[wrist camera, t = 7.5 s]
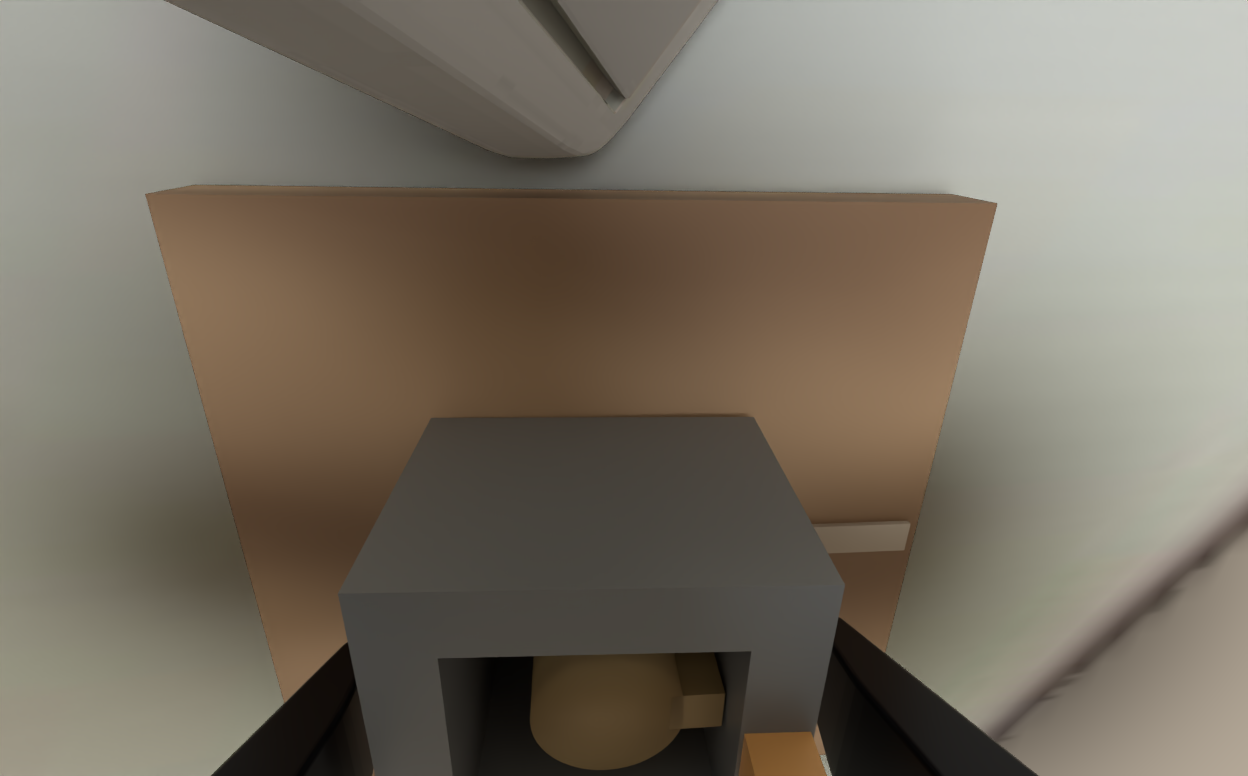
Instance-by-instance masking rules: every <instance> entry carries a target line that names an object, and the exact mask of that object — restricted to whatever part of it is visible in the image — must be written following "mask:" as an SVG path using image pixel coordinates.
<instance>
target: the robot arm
mask: <svg viewBox="0 0 1248 776" xmlns="http://www.w3.org/2000/svg"><path fill="white" fill-rule="evenodd" d="M817 725H818V728H819V732H820V736H821V739H822V743H823V746H824V750H825V753H826V757H827V761H828V764H829V767H830V771H831V774H832V776H1038V775H1037V774H1036V773H1034V772H1033V771H1032V770H1031V769H1029V768H1028V767H1027V766H1026V765H1024V764H1023V763H1022V762H1021V761H1019V760H1018V759H1017V758H1016V757H1014V756H1013V755H1012V754H1011V753H1009V752H1008V751H1007V750H1006V749H1004V748H1003V747H1002V746H1001V745H999V744H998V743H997V742H996V741H994V740H993V739H992V738H991V737H989V736H988V735H987V734H986V733H984V732H983V731H982V730H981V729H979V728H978V727H977V726H976V725H974V724H973V723H972V722H971V721H969V720H968V719H967V718H966V717H964V716H963V715H962V714H961V713H959V712H958V711H957V710H956V709H954V708H953V707H952V706H951V705H949V704H948V703H947V702H946V701H944V700H943V699H942V698H941V697H939V696H938V695H937V694H936V693H934V692H933V691H932V690H931V689H929V688H928V687H927V686H926V685H924V684H923V683H922V682H921V681H919V680H918V679H917V678H916V677H914V676H913V675H912V674H911V673H909V672H908V671H907V670H906V669H904V668H903V667H902V666H901V665H899V664H898V663H897V662H896V661H894V660H893V659H892V658H891V657H889V656H888V655H887V654H886V653H884V652H883V651H882V650H881V649H879V648H878V647H877V646H876V645H874V644H873V643H872V642H871V641H869V640H868V639H867V638H866V637H864V636H863V635H862V634H861V633H859V632H858V631H857V630H856V629H854V628H853V627H852V626H851V625H849V624H848V623H847V622H846V621H844V620H843V619H841V618H840V617H838V622H837V627H836V632H835V637H834V642H833V647H832V652H831V656H830V661H829V666H828V671H827V676H826V681H825V686H824V691H823V696H822V700H821V705H820V710H819V715H818V720H817ZM373 769H374V768H373V763H372V758H371V753H370V748H369V743H368V738H367V734H366V729H365V724H364V719H363V714H362V709H361V704H360V699H359V695H358V690H357V685H356V680H355V675H354V670H353V665H352V660H351V656H350V651H349V646H348V642H347V643H345V644H344V645H343V646H342V647H341V648H340V649H339V650H338V651H337V652H336V653H335V654H334V655H333V656H332V657H331V658H330V659H329V660H327V661H326V662H325V663H324V664H323V665H322V666H321V667H320V668H319V669H318V670H317V671H316V672H315V673H314V674H313V675H312V676H311V677H310V678H309V679H308V680H307V681H306V682H305V683H304V684H303V685H302V686H301V687H300V688H299V689H298V690H297V691H296V692H295V693H294V694H293V695H292V696H291V697H290V698H289V699H288V700H287V701H286V702H285V703H284V704H283V705H282V706H281V707H280V708H279V709H278V710H277V711H276V712H275V713H274V714H273V715H272V716H271V717H270V718H269V719H268V720H267V721H266V722H265V723H264V724H263V725H262V726H261V727H260V728H259V729H258V730H257V731H256V732H255V733H254V734H253V735H252V736H251V737H250V738H249V739H248V740H247V741H246V742H245V743H244V744H243V745H242V746H241V747H239V748H238V749H237V750H236V751H235V752H234V753H233V754H232V755H231V756H230V757H229V758H228V759H227V760H226V761H225V762H224V763H223V764H222V765H221V766H220V767H219V768H218V769H217V770H216V771H215V772H214V773H213V774H212V775H211V776H372V774H373Z"/></svg>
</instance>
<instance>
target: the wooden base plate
mask: <svg viewBox="0 0 1248 776" xmlns="http://www.w3.org/2000/svg"><path fill="white" fill-rule="evenodd" d="M145 195H146V198H147V202H148V206H149V209H150V213H151V216H152V220H153V224H154V227H155V231H156V235H157V238H158V242H159V246H160V249H161V253H162V257H163V260H164V264H165V268H166V271H167V275H168V279H169V282H170V286H171V290H172V293H173V297H174V301H175V304H176V308H177V312H178V315H179V319H180V323H181V326H182V330H183V334H184V337H185V341H186V345H187V348H188V352H189V356H190V359H191V363H192V367H193V370H194V374H195V378H196V381H197V385H198V389H199V392H200V396H201V400H202V403H203V407H204V411H205V414H206V418H207V422H208V425H209V429H210V433H211V436H212V440H213V444H214V447H215V451H216V455H217V458H218V462H219V466H220V469H221V473H222V477H223V480H224V484H225V488H226V491H227V495H228V499H229V502H230V506H231V510H232V513H233V517H234V521H235V524H236V528H237V532H238V535H239V539H240V543H241V546H242V550H243V554H244V557H245V561H246V565H247V568H248V572H249V575H250V579H251V583H252V586H253V590H254V594H255V597H256V601H257V605H258V608H259V612H260V616H261V619H262V623H263V627H264V630H265V634H266V638H267V641H268V645H269V649H270V652H271V656H272V660H273V663H274V667H275V671H276V674H277V678H278V682H279V685H280V689H281V693H282V696H283V700H284V703H285V702H286V701H287V700H288V699H289V698H290V697H291V696H292V695H293V694H294V693H295V692H296V691H297V690H298V689H299V688H300V687H301V686H302V685H303V684H304V683H305V682H306V681H307V680H308V679H309V678H310V677H311V676H312V675H313V674H314V673H315V672H316V671H317V670H318V669H319V668H320V667H321V666H322V665H323V664H324V663H325V662H326V661H327V660H329V659H330V658H331V657H332V656H333V655H334V654H335V653H336V652H337V651H338V650H339V649H340V648H341V647H342V646H343V645H344V644H345V643H347V642H348V641H347V636H346V631H345V626H344V621H343V617H342V612H341V607H340V602H339V597H338V592H339V590H340V589H341V587H342V585H343V583H344V581H345V579H346V577H347V575H348V574H349V572H350V570H351V568H352V566H353V564H354V562H355V560H356V558H357V557H358V555H359V553H360V551H361V549H362V547H363V545H364V543H365V541H366V540H367V538H368V536H369V534H370V532H371V530H372V528H373V526H374V525H375V523H376V521H377V519H378V517H379V515H380V513H381V511H382V509H383V508H384V506H385V504H386V502H387V500H388V498H389V496H390V494H391V492H392V491H393V489H394V487H395V485H396V483H397V481H398V479H399V477H400V475H401V474H402V472H403V470H404V468H405V466H406V464H407V462H408V460H409V459H410V457H411V455H412V453H413V451H414V449H415V447H416V445H417V443H418V442H419V440H420V438H421V436H422V434H423V432H424V430H425V428H426V426H427V425H428V423H429V421H430V419H431V418H513V417H754V418H755V420H756V422H757V424H758V426H759V427H760V429H761V431H762V433H763V435H764V437H765V438H766V440H767V442H768V444H769V446H770V448H771V449H772V451H773V453H774V455H775V457H776V459H777V461H778V462H779V464H780V466H781V468H782V470H783V472H784V473H785V475H786V477H787V479H788V481H789V483H790V484H791V486H792V488H793V490H794V492H795V494H796V495H797V497H798V499H799V501H800V503H801V505H802V507H803V508H804V510H805V512H806V514H807V516H808V518H809V519H810V521H811V523H812V525H813V527H814V529H815V530H816V532H817V534H818V536H819V538H820V540H821V541H822V543H823V545H824V547H825V549H826V551H827V553H828V554H829V556H830V558H831V560H832V562H833V564H834V565H835V567H836V569H837V571H838V573H839V575H840V576H841V578H842V580H843V582H844V584H845V588H844V593H843V598H842V603H841V608H840V612H839V617H840V618H841V619H843V620H844V621H846V622H847V623H848V624H849V625H851V626H852V627H853V628H854V629H856V630H857V631H858V632H859V633H861V634H862V635H863V636H864V637H866V638H867V639H868V640H869V641H871V642H872V643H873V644H874V645H876V646H877V647H878V648H879V649H881V650H882V651H883V652H884V653H885V651H886V647H887V643H888V639H889V635H890V631H891V627H892V623H893V619H894V615H895V611H896V607H897V603H898V599H899V595H900V591H901V587H902V583H903V579H904V575H905V571H906V567H907V563H908V559H909V555H910V551H911V547H912V543H913V539H914V535H915V531H916V527H917V523H918V519H919V515H920V511H921V507H922V503H923V499H924V495H925V491H926V487H927V483H928V479H929V475H930V471H931V467H932V463H933V459H934V455H935V451H936V447H937V443H938V439H939V435H940V431H941V427H942V423H943V419H944V415H945V411H946V407H947V403H948V399H949V395H950V391H951V387H952V383H953V379H954V375H955V371H956V367H957V363H958V359H959V355H960V351H961V347H962V343H963V339H964V335H965V331H966V327H967V323H968V319H969V315H970V311H971V307H972V303H973V299H974V295H975V291H976V287H977V283H978V279H979V275H980V271H981V267H982V263H983V259H984V255H985V251H986V247H987V243H988V239H989V235H990V231H991V227H992V223H993V219H994V215H995V211H996V207H997V203H993V202H988V201H983V200H978V199H973V198H968V197H963V196H958V195H953V194H888V193H807V192H726V191H645V190H565V189H484V188H403V187H322V186H241V185H191V186H186V187H180V188H175V189H170V190H164V191H159V192H154V193H148V194H145ZM724 700H725V690H724V687H723V683H722V680H721V676H720V673H719V669H718V665H717V662H716V658H715V655H714V652H696V653H652V654H608V655H564V656H534V657H533V675H532V693H531V710H530V726H531V731H532V734H533V736H534V738H535V740H536V742H537V743H538V744H539V746H540V747H541V748H542V749H543V750H544V751H545V752H546V753H547V754H549V755H550V756H551V757H553V758H554V759H556V760H558V761H560V762H562V763H565V764H567V765H570V766H574V767H578V768H583V769H590V770H610V769H618V768H623V767H628V766H631V765H634V764H637V763H640V762H642V761H645V760H647V759H649V758H651V757H653V756H654V755H656V754H657V753H659V752H660V751H662V750H663V749H664V748H665V747H667V746H668V745H669V744H670V743H671V742H672V741H673V740H674V738H675V737H676V736H677V734H678V733H679V731H680V729H686V728H701V727H717V726H722V717H723V709H724ZM814 741H815V744H816V747H817V750H818V753H819V755H826V753H825V750H824V746H823V743H822V739H821V736H820V732H819V728H818V725H816V730H815V735H814ZM372 776H375V773H374V769H373V774H372Z"/></svg>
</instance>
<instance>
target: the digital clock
mask: <svg viewBox="0 0 1248 776" xmlns="http://www.w3.org/2000/svg"><path fill="white" fill-rule="evenodd" d="M165 1H167V2H169V3H171V4H173V5H176V6H178V7H180V8H182V9H184V10H186V11H188V12H191V13H193V14H195V15H197V16H199V17H201V18H204V19H206V20H208V21H210V22H212V23H214V24H217V25H219V26H221V27H223V28H225V29H227V30H230V31H232V32H234V33H236V34H238V35H240V36H242V37H245V38H247V39H249V40H251V41H253V42H255V43H258V44H260V45H262V46H264V47H266V48H268V49H271V50H273V51H275V52H277V53H279V54H281V55H283V56H286V57H288V58H290V59H292V60H294V61H296V62H299V63H301V64H303V65H305V66H307V67H309V68H312V69H314V70H316V71H318V72H320V73H322V74H325V75H327V76H329V77H331V78H333V79H335V80H337V81H340V82H342V83H344V84H346V85H348V86H350V87H353V88H355V89H357V90H359V91H361V92H363V93H366V94H368V95H370V96H372V97H374V98H376V99H378V100H381V101H383V102H385V103H387V104H389V105H391V106H394V107H396V108H398V109H400V110H402V111H404V112H407V113H409V114H411V115H413V116H415V117H417V118H420V119H422V120H424V121H426V122H428V123H430V124H432V125H435V126H437V127H439V128H441V129H443V130H445V131H448V132H450V133H452V134H454V135H456V136H458V137H461V138H463V139H465V140H467V141H469V142H471V143H474V144H476V145H478V146H480V147H482V148H484V149H486V150H489V151H492V152H495V153H498V154H500V155H503V156H507V157H513V158H561V157H578V156H586V155H591V154H593V153H594V152H596V151H598V150H600V149H601V148H602V147H603V146H604V145H605V144H606V143H608V142H609V141H610V140H611V139H612V138H613V137H614V136H615V135H616V133H617V132H618V131H619V130H620V129H621V127H622V126H623V125H624V124H625V123H626V121H627V120H628V119H629V118H630V117H631V115H632V114H633V113H634V111H635V110H636V109H637V107H638V106H639V105H640V103H641V102H642V101H643V99H644V98H645V97H646V95H647V94H648V93H649V91H650V90H651V89H652V87H653V86H654V85H655V83H656V82H657V81H658V79H659V78H660V77H661V75H662V74H663V73H664V72H665V70H666V69H667V68H668V66H669V65H670V64H671V62H672V61H673V60H674V58H675V57H676V56H677V54H678V53H679V52H680V50H681V49H682V48H683V46H684V45H685V44H686V42H687V41H688V40H689V38H690V37H691V36H692V34H693V33H694V32H695V30H696V29H697V28H698V26H699V25H700V24H701V22H702V21H703V20H704V18H705V17H706V16H707V14H708V13H709V12H710V10H711V9H712V8H713V6H714V5H715V4H716V2H717V1H718V0H165Z"/></svg>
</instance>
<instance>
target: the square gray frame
mask: <svg viewBox="0 0 1248 776" xmlns="http://www.w3.org/2000/svg"><path fill="white" fill-rule="evenodd" d="M844 588H845V584H844V582H843V580H842V578H841V576H840V575H839V573H838V571H837V569H836V567H835V565H834V564H833V562H832V560H831V558H830V556H829V554H828V553H827V551H826V549H825V547H824V545H823V543H822V541H821V540H820V538H819V536H818V534H817V532H816V530H815V529H814V527H813V525H812V523H811V521H810V519H809V518H808V516H807V514H806V512H805V510H804V508H803V507H802V505H801V503H800V501H799V499H798V497H797V495H796V494H795V492H794V490H793V488H792V486H791V484H790V483H789V481H788V479H787V477H786V475H785V473H784V472H783V470H782V468H781V466H780V464H779V462H778V461H777V459H776V457H775V455H774V453H773V451H772V449H771V448H770V446H769V444H768V442H767V440H766V438H765V437H764V435H763V433H762V431H761V429H760V427H759V426H758V424H757V422H756V420H755V418H754V417H513V418H431V419H430V421H429V423H428V425H427V426H426V428H425V430H424V432H423V434H422V436H421V438H420V440H419V442H418V443H417V445H416V447H415V449H414V451H413V453H412V455H411V457H410V459H409V460H408V462H407V464H406V466H405V468H404V470H403V472H402V474H401V475H400V477H399V479H398V481H397V483H396V485H395V487H394V489H393V491H392V492H391V494H390V496H389V498H388V500H387V502H386V504H385V506H384V508H383V509H382V511H381V513H380V515H379V517H378V519H377V521H376V523H375V525H374V526H373V528H372V530H371V532H370V534H369V536H368V538H367V540H366V541H365V543H364V545H363V547H362V549H361V551H360V553H359V555H358V557H357V558H356V560H355V562H354V564H353V566H352V568H351V570H350V572H349V574H348V575H347V577H346V579H345V581H344V583H343V585H342V587H341V589H340V590H339V592H338V597H339V602H340V607H341V612H342V617H343V621H344V626H345V631H346V636H347V641H348V646H349V651H350V656H351V660H352V665H353V670H354V675H355V680H356V685H357V690H358V695H359V699H360V704H361V709H362V714H363V719H364V724H365V729H366V734H367V738H368V743H369V748H370V753H371V758H372V763H373V768H374V773H375V776H827V775H826V772H825V769H824V767H823V764H822V761H821V758H820V755H819V753H818V750H817V747H816V744H815V741H814V735H815V730H816V725H817V720H818V715H819V710H820V705H821V700H822V696H823V691H824V686H825V681H826V676H827V671H828V666H829V661H830V656H831V652H832V647H833V642H834V637H835V632H836V627H837V622H838V617H839V612H840V608H841V603H842V598H843V593H844ZM696 652H714V655H715V658H716V662H717V665H718V669H719V673H720V676H721V680H722V683H723V687H724V690H725V700H724V709H723V717H722V726H717V727H701V728H686V729H680V731H679V733H678V734H677V736H676V737H675V738H674V740H673V741H672V742H671V743H670V744H669V745H668V746H667V747H665V748H664V749H663V750H662V751H660V752H659V753H657V754H656V755H654V756H653V757H651V758H649V759H647V760H645V761H642V762H640V763H637V764H634V765H631V766H628V767H623V768H618V769H610V770H590V769H583V768H578V767H574V766H570V765H567V764H565V763H562V762H560V761H558V760H556V759H554V758H553V757H551V756H550V755H549V754H547V753H546V752H545V751H544V750H543V749H542V748H541V747H540V746H539V744H538V743H537V742H536V740H535V738H534V736H533V734H532V731H531V726H530V710H531V693H532V675H533V657H534V656H564V655H608V654H652V653H696Z"/></svg>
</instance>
